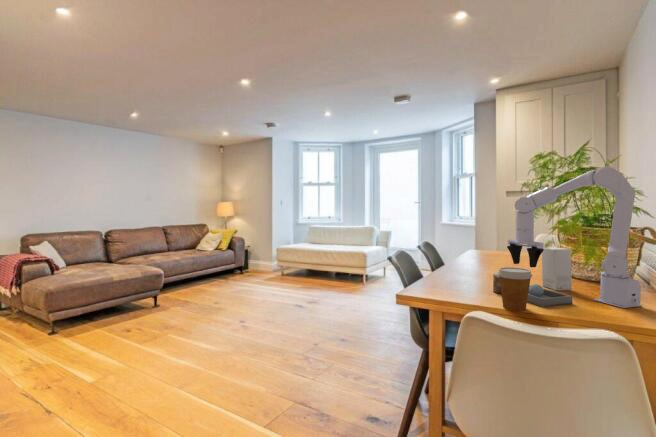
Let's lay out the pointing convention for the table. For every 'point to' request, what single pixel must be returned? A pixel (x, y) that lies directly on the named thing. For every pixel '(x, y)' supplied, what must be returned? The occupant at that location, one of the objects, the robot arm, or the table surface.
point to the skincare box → (556, 268)
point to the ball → (536, 290)
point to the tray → (550, 299)
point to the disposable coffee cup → (514, 287)
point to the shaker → (496, 284)
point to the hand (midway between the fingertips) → (524, 265)
